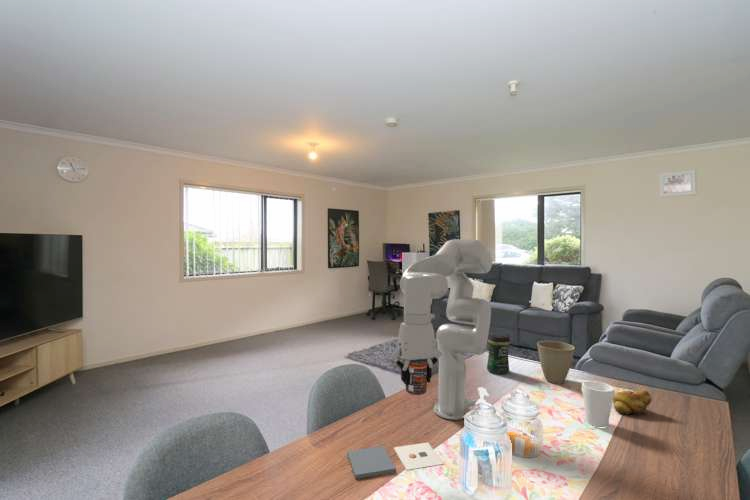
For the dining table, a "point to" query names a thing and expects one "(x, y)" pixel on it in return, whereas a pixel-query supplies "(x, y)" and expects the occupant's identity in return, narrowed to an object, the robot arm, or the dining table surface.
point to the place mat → (370, 462)
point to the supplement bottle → (417, 377)
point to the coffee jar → (498, 353)
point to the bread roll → (631, 401)
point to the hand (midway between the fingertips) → (416, 381)
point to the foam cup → (597, 402)
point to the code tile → (417, 456)
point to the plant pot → (555, 360)
